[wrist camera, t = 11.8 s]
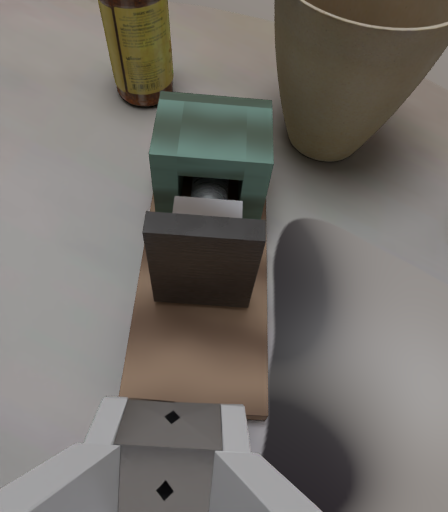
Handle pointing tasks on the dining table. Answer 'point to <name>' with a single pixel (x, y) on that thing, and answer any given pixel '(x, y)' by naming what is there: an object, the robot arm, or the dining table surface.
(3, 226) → the dining table surface
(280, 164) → the dining table surface
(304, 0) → the plant pot
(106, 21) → the sauce bottle
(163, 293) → the upright dark gray slab
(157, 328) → the tube housing
